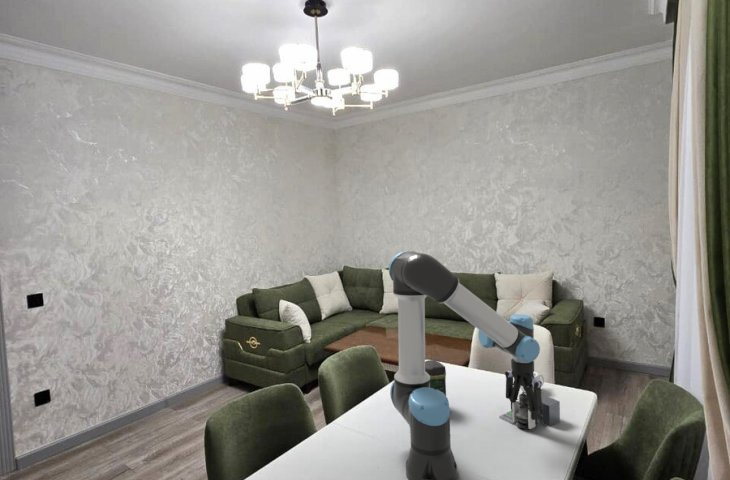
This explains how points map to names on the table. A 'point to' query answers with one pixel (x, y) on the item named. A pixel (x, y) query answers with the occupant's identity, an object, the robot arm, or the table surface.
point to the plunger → (537, 414)
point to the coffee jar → (436, 375)
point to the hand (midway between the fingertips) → (523, 423)
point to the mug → (537, 377)
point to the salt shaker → (522, 411)
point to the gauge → (548, 412)
